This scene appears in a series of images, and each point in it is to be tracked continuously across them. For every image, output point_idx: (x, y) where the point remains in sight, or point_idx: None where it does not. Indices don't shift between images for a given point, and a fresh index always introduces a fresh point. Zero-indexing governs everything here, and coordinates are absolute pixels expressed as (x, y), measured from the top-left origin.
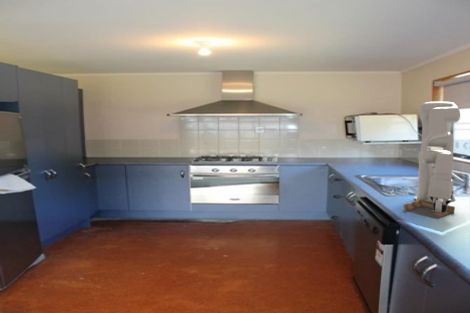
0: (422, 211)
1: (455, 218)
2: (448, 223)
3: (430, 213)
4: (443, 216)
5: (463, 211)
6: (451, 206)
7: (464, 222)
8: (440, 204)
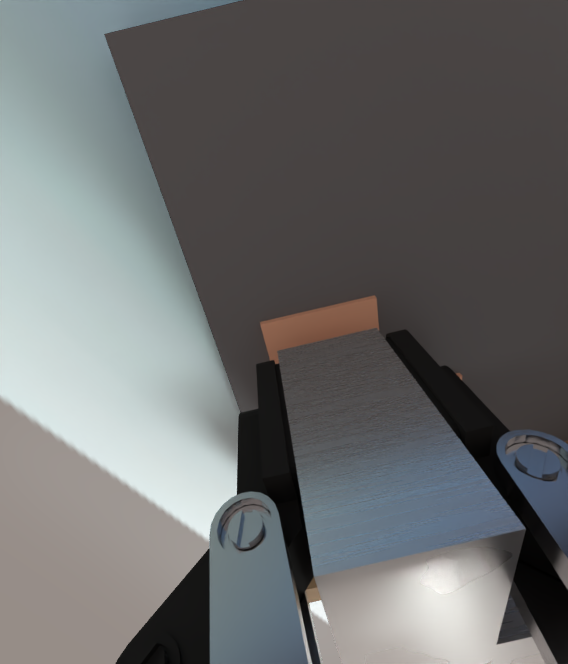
0: (531, 232)
1: (194, 440)
2: (6, 170)
3: (405, 263)
4: (221, 318)
5: (318, 603)
6: (313, 587)
7: (43, 416)
8: (332, 464)
